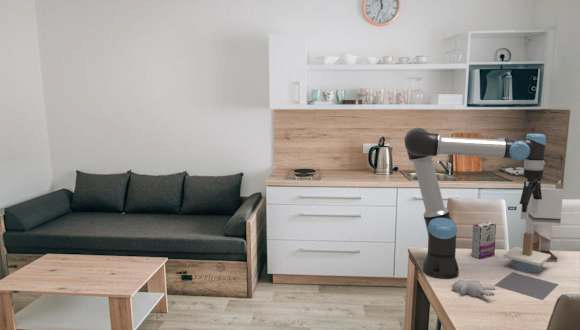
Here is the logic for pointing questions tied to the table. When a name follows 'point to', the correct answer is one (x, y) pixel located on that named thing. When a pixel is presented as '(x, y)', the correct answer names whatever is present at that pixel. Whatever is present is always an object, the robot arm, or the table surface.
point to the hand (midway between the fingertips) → (529, 216)
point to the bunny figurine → (472, 288)
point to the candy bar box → (483, 240)
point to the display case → (545, 219)
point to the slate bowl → (525, 266)
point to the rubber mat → (527, 285)
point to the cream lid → (527, 252)
